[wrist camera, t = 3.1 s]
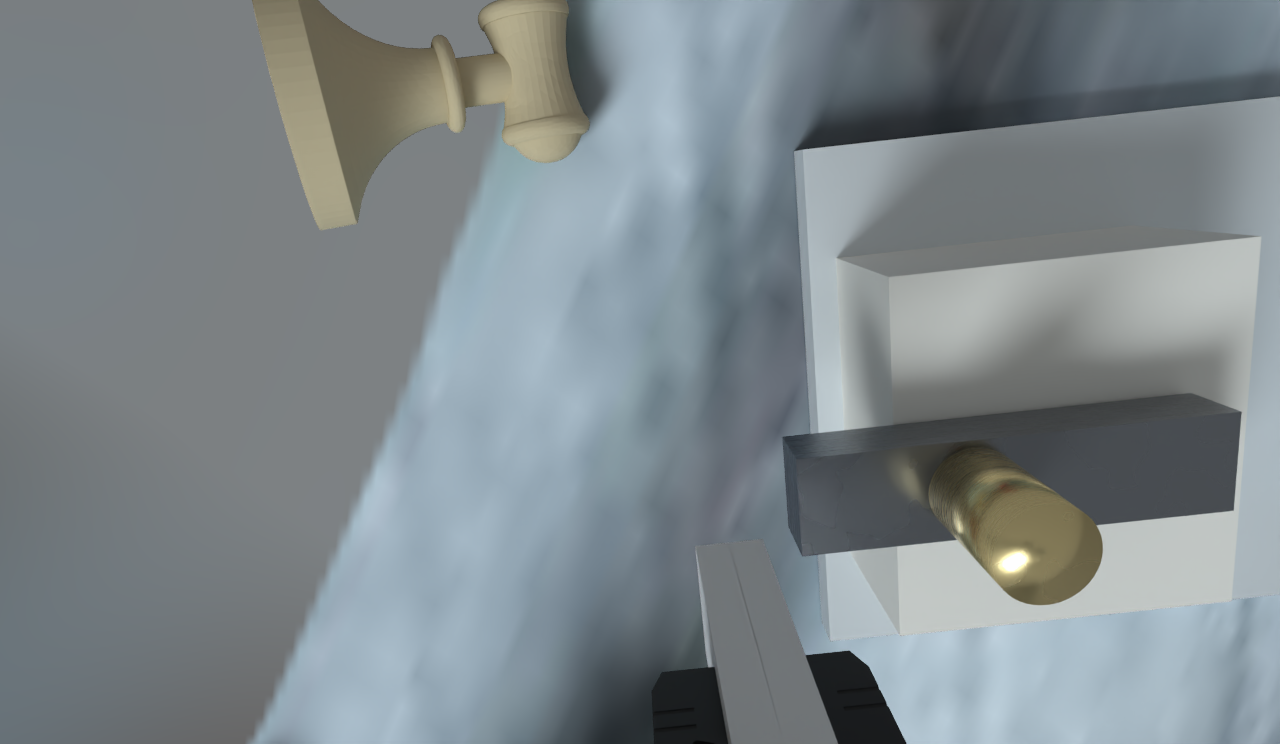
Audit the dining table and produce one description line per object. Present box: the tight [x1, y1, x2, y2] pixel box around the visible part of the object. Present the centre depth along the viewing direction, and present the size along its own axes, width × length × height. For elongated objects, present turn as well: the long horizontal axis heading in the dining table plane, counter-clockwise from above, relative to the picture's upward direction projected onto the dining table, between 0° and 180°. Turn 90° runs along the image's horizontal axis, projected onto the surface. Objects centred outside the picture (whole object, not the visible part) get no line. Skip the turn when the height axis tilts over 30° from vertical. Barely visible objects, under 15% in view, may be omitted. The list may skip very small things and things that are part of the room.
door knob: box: [252, 0, 590, 230], centre depth 26 cm, size 10×8×8 cm
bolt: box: [783, 393, 1242, 605], centre depth 21 cm, size 3×12×6 cm, turn 96°
